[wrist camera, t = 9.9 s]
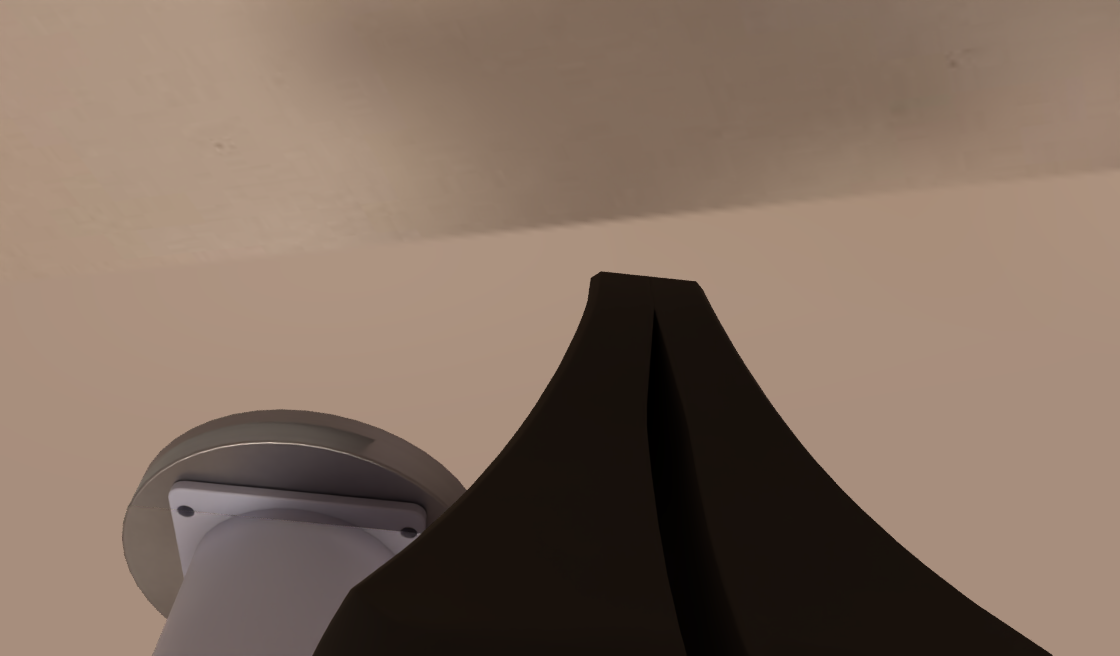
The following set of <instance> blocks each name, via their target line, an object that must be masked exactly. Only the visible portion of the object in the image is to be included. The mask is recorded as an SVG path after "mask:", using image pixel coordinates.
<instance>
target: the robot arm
mask: <svg viewBox="0 0 1120 656" xmlns="http://www.w3.org/2000/svg"><path fill="white" fill-rule="evenodd" d="M168 499H169V504H170V509H171V515H172V520H173V525H174V530H175V535H176V541H177V546H178V551H179V556H180V561H181V567H182V572H183V577H184V580H183V582H182V585H181V587H180V589H179V592H178V594H177V597H176V599H175V602H174V604H173V606H172V609H171V611H170V614H169V616H168V618H167V621H166V623H165V626H164V628H163V631H162V633H161V635H160V638H159V640H158V643H157V645H156V647H155V650H154V652H153V655H152V656H1052V654H1050V653H1049V652H1047V651H1046V650H1044V649H1043V648H1041V647H1040V646H1038V645H1037V644H1035V643H1034V642H1032V641H1031V640H1029V639H1028V638H1026V637H1025V636H1023V635H1022V634H1020V633H1019V632H1017V631H1016V630H1014V629H1013V628H1011V627H1010V626H1008V625H1007V624H1005V623H1004V622H1002V621H1001V620H999V619H998V618H996V617H995V616H993V615H992V614H990V613H989V612H987V611H986V610H984V609H983V608H981V607H980V606H978V605H977V604H976V603H974V602H973V601H971V600H970V599H969V598H967V597H966V596H965V595H963V594H962V593H961V592H959V591H958V590H957V589H955V588H954V587H953V586H952V585H950V584H949V583H948V582H946V581H945V580H944V579H943V578H941V577H940V576H938V575H937V574H936V573H935V572H933V571H932V570H931V569H930V568H928V567H927V566H926V565H924V564H923V563H922V562H921V561H920V560H918V559H917V558H916V557H915V556H914V555H912V554H911V553H910V552H909V551H908V550H906V549H905V548H904V547H903V546H902V545H901V544H899V543H898V542H897V541H896V540H895V539H894V538H893V537H892V536H890V535H889V534H888V533H887V532H886V531H885V530H884V529H883V528H882V527H881V526H880V525H878V524H877V523H876V522H875V521H874V520H873V519H872V518H871V517H870V516H869V515H867V514H866V513H865V512H864V511H863V510H862V509H861V508H860V507H859V506H858V505H857V504H856V503H855V502H854V501H853V500H852V499H851V498H850V497H849V496H848V495H847V494H846V493H845V492H844V491H843V490H842V489H841V488H840V487H839V486H838V485H837V484H836V482H834V480H833V479H832V478H831V477H830V476H829V475H828V474H827V473H826V472H825V471H824V469H823V468H822V467H821V466H820V465H819V464H818V463H817V462H816V461H815V460H814V458H813V457H812V456H811V455H810V454H809V452H808V451H807V450H806V449H805V447H804V446H803V445H802V444H801V442H800V441H799V440H798V439H797V437H796V436H795V435H794V434H793V432H792V431H791V430H790V428H789V427H788V426H787V424H786V423H785V422H784V420H783V419H782V418H781V416H780V415H779V414H778V412H777V411H776V410H775V408H774V407H773V405H772V404H771V403H770V401H769V400H768V398H767V397H766V395H765V394H764V392H763V391H762V390H761V388H760V386H759V385H758V383H757V382H756V380H755V379H754V377H753V376H752V374H751V373H750V371H749V370H748V368H747V367H746V365H745V364H744V362H743V360H742V359H741V357H740V356H739V354H738V352H737V351H736V349H735V347H734V346H733V344H732V342H731V341H730V339H729V337H728V335H727V334H726V332H725V330H724V329H723V327H722V325H721V323H720V321H719V320H718V318H717V316H716V314H715V313H714V310H713V309H712V307H711V305H710V303H709V301H708V299H707V297H706V295H705V293H704V291H703V289H702V288H701V287H700V286H699V284H698V283H697V282H696V281H686V280H676V279H667V278H658V277H649V276H639V275H630V274H620V273H611V272H599V273H598V274H596V275H595V276H593V277H592V278H591V281H590V288H589V295H588V301H587V305H586V308H585V311H584V314H583V316H582V319H581V321H580V324H579V326H578V329H577V331H576V333H575V335H574V338H573V339H572V341H571V343H570V346H569V347H568V350H567V352H566V353H565V355H564V357H563V360H562V361H561V364H560V365H559V367H558V369H557V371H556V373H555V374H554V376H553V377H552V379H551V381H550V382H549V384H548V385H547V387H546V389H545V391H544V392H543V394H542V395H541V397H540V399H539V400H538V402H537V403H536V405H535V407H534V408H533V409H532V411H531V412H530V414H529V415H528V417H527V418H526V420H525V421H524V422H523V424H522V425H521V427H520V428H519V429H518V431H517V432H516V433H515V435H514V436H513V437H512V439H511V440H510V441H509V442H508V444H507V445H506V446H505V448H504V449H503V450H502V451H501V453H500V454H499V455H498V456H497V458H495V460H494V461H493V462H492V463H491V464H490V466H489V467H488V468H487V469H486V470H485V471H484V472H483V473H482V475H481V476H480V477H479V478H478V479H477V480H476V481H475V483H474V484H473V485H472V486H471V487H470V488H469V489H468V490H467V491H466V492H465V493H464V494H463V495H462V496H461V497H460V498H459V499H458V500H457V501H456V502H455V503H454V504H453V505H452V506H451V507H450V508H449V509H448V510H447V511H445V512H444V513H443V514H442V515H441V516H440V517H439V518H438V519H437V520H436V521H435V522H434V523H432V524H431V525H430V526H429V527H428V528H427V529H426V518H427V515H426V511H425V510H424V509H423V508H422V507H421V506H419V505H417V504H414V503H408V502H398V501H388V500H377V499H367V498H357V497H347V496H336V495H326V494H316V493H306V492H295V491H285V490H275V489H265V488H254V487H244V486H234V485H224V484H213V483H203V482H193V481H179V482H176V483H174V485H173V486H172V487H171V489H170V492H169V495H168ZM187 506H189V507H187ZM190 507H191V508H190ZM406 527H410V528H413V529H409V528H406Z"/></svg>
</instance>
